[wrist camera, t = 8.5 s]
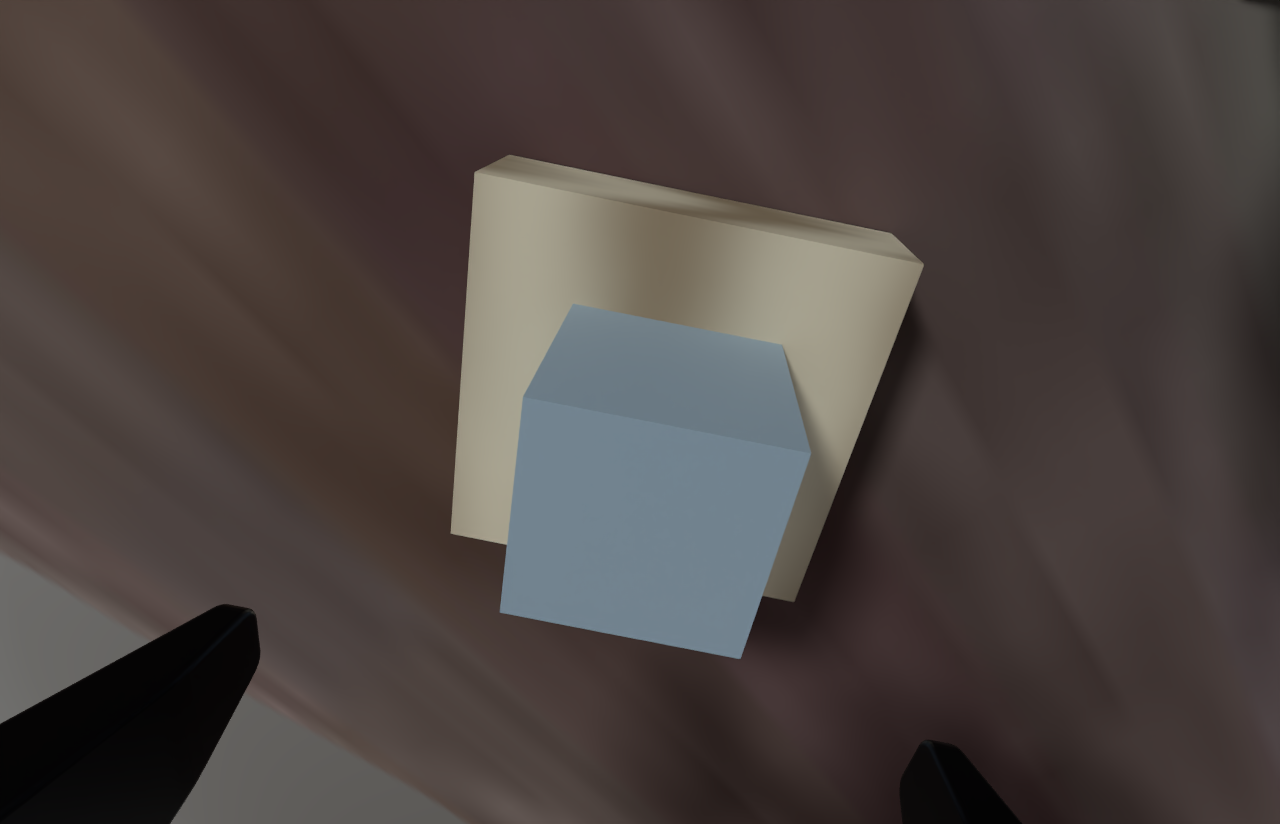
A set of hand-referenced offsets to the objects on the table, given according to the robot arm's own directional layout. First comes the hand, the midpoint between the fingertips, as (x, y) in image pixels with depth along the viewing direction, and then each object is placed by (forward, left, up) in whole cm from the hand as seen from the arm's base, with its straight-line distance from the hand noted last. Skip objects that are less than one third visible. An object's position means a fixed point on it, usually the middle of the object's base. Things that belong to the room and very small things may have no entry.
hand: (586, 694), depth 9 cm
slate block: (-1, 0, -9) cm, 9 cm away
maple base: (-1, 0, -12) cm, 12 cm away
